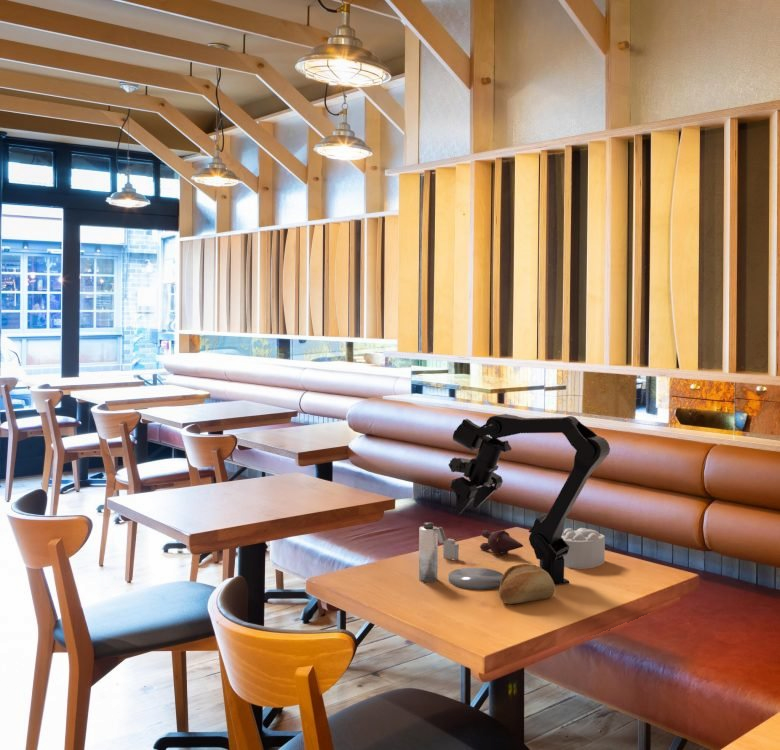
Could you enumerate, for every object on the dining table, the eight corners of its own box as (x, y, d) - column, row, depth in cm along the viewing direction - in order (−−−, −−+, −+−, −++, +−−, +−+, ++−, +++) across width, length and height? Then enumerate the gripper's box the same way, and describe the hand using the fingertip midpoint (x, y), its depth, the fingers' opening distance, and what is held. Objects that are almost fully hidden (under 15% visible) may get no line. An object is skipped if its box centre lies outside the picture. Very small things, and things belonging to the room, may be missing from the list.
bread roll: (487, 600, 188) (488, 566, 188) (535, 589, 196) (535, 556, 196) (515, 612, 180) (516, 576, 180) (564, 600, 188) (564, 566, 188)
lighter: (458, 559, 221) (459, 530, 221) (455, 560, 220) (455, 531, 219) (438, 554, 226) (438, 526, 225) (434, 555, 224) (434, 527, 224)
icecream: (532, 534, 224) (491, 528, 235) (515, 531, 219) (474, 526, 230) (529, 559, 222) (488, 553, 234) (512, 557, 218) (471, 551, 229)
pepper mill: (440, 581, 202) (440, 524, 201) (423, 583, 200) (423, 526, 199) (432, 575, 206) (433, 520, 205) (416, 577, 204) (416, 522, 203)
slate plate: (515, 586, 198) (515, 581, 198) (463, 592, 193) (463, 587, 193) (488, 570, 211) (488, 565, 211) (439, 575, 206) (439, 570, 206)
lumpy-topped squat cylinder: (609, 561, 220) (610, 530, 219) (583, 571, 211) (584, 538, 210) (576, 554, 227) (576, 523, 227) (549, 563, 218) (550, 531, 217)
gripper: (478, 440, 223) (458, 490, 227) (443, 449, 207) (423, 501, 211) (512, 460, 217) (491, 510, 221) (479, 469, 202) (457, 523, 206)
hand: (465, 510), depth 215 cm, fingers open, 9 cm apart
